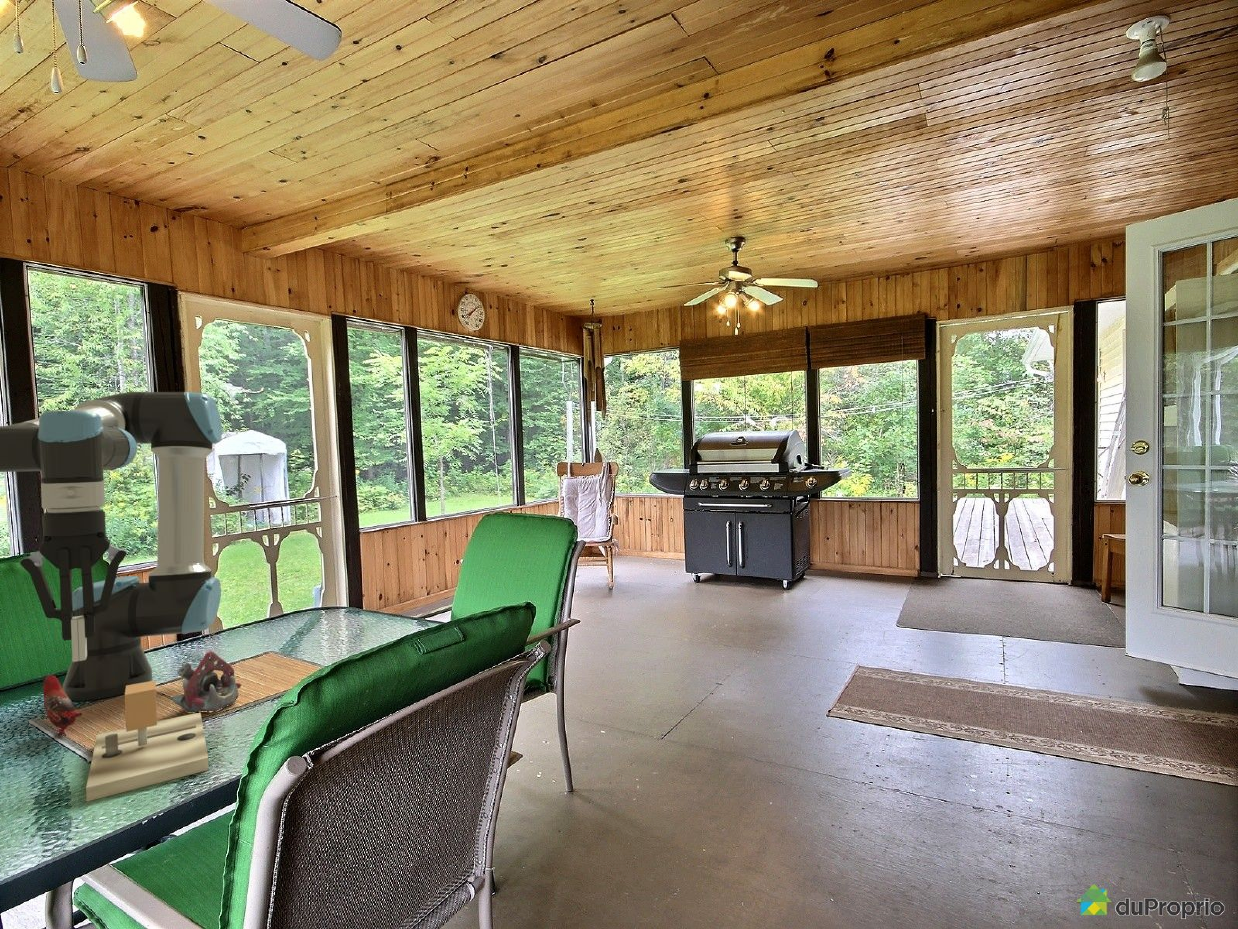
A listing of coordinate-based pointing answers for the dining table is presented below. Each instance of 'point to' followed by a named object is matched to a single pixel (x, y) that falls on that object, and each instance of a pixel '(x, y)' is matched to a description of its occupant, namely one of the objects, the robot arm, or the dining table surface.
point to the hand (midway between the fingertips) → (79, 658)
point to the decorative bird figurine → (58, 704)
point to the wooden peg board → (147, 756)
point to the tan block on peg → (141, 708)
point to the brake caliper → (207, 685)
